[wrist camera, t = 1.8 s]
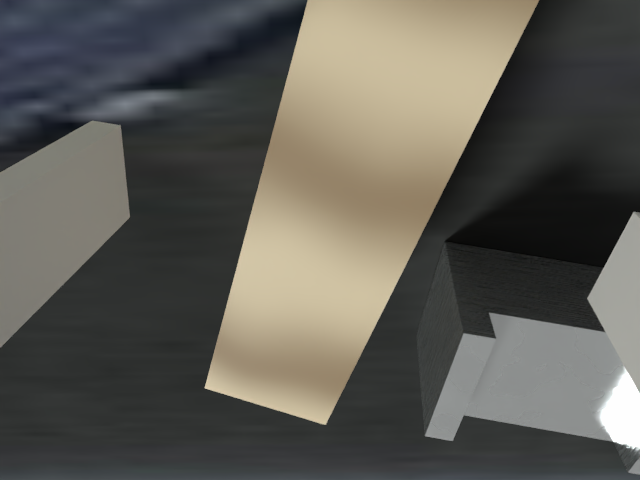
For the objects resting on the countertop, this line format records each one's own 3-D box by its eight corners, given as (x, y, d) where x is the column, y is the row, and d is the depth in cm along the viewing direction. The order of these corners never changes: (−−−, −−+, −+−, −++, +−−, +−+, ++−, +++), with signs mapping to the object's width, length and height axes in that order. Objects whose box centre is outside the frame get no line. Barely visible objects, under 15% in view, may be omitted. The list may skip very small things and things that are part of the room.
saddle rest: (416, 333, 26) (424, 436, 21) (444, 241, 23) (463, 333, 18) (598, 364, 26) (656, 477, 20) (652, 275, 23) (738, 380, 17)
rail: (341, 300, 26) (325, 425, 19) (252, 271, 26) (204, 387, 19) (538, -155, 15) (658, -237, 9) (392, -212, 15) (398, -342, 8)
